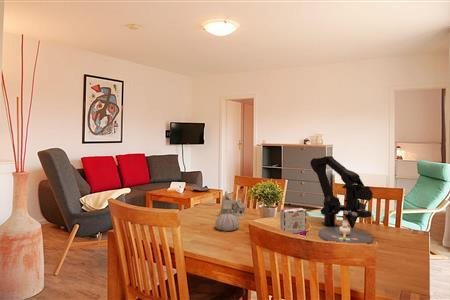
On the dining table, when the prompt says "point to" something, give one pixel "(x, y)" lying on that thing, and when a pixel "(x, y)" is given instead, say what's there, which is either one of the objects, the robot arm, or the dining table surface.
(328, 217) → the robot arm
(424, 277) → the dining table surface
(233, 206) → the ceramic cottage
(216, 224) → the sea urchin shell
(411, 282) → the dining table surface
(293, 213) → the candy bar box
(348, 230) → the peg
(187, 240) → the dining table surface
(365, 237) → the round gray plate
